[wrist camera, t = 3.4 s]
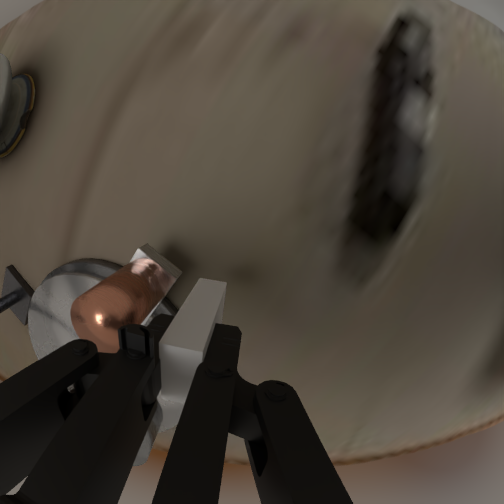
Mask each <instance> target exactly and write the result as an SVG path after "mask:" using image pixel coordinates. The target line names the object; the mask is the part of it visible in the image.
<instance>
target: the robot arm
mask: <svg viewBox="0 0 504 504" xmlns="http://www.w3.org/2000/svg"><path fill="white" fill-rule="evenodd" d="M226 286H227V282H221V281H215V280H209V279H203V278H199V280H198V281H197V283H196V284H195V286H194V288H193V289H192V291H191V292H190V294H189V295H188V297H187V298H186V300H185V302H184V303H183V305H182V306H181V308H180V309H179V311H178V313H177V314H176V316H172V315H167V314H163V313H161V314H159V315H157V316H155V317H154V318H153V319H152V320H151V322H150V323H149V324H148V326H147V327H146V326H144V325H140V324H127V325H124V326H121V327H120V328H119V329H118V339H119V348H120V349H119V350H118V351H117V353H104V352H98V349H97V346H96V344H95V343H93V342H92V341H90V340H87V339H75V340H72V341H70V342H68V343H66V344H65V345H63V346H61V347H60V348H58V349H56V350H55V351H53V352H51V353H50V354H48V355H46V356H45V357H43V358H41V359H40V360H38V361H36V362H35V363H33V364H31V365H30V366H28V367H26V368H25V369H23V370H21V371H20V372H18V373H16V374H15V375H13V376H12V377H10V378H8V379H7V380H5V381H3V382H2V383H0V504H118V501H119V498H120V496H121V493H122V491H123V488H124V486H125V483H126V481H127V478H128V476H129V473H130V471H131V468H132V466H133V464H134V461H135V459H136V456H137V454H138V452H139V449H140V447H141V444H142V442H143V440H144V437H145V435H146V432H147V430H148V428H149V425H150V423H151V421H152V418H153V416H154V414H155V411H156V409H157V405H158V401H157V396H158V394H159V392H160V390H161V398H162V399H166V400H170V401H174V402H179V403H183V404H184V407H183V410H182V413H181V416H180V419H179V422H178V425H177V427H176V430H175V433H174V436H173V439H172V442H171V445H170V449H169V452H168V455H167V458H166V461H165V464H164V467H163V470H162V473H161V476H160V479H159V482H158V485H157V489H156V491H155V495H154V498H153V501H152V504H218V499H219V492H220V486H221V478H222V472H223V465H224V458H225V451H226V444H227V437H228V432H229V433H231V434H234V435H236V436H239V437H241V438H244V441H245V445H246V449H247V453H248V457H249V461H250V465H251V469H252V472H253V476H254V480H255V483H256V487H257V490H258V494H259V497H260V501H261V504H353V502H352V500H351V498H350V496H349V495H348V493H347V491H346V489H345V487H344V485H343V483H342V481H341V479H340V478H339V476H338V474H337V472H336V470H335V468H334V466H333V464H332V462H331V460H330V458H329V456H328V454H327V452H326V450H325V449H324V447H323V445H322V443H321V441H320V439H319V437H318V435H317V433H316V431H315V429H314V427H313V425H312V423H311V421H310V419H309V417H308V415H307V413H306V411H305V409H304V407H303V405H302V403H301V401H300V399H299V397H298V395H297V393H296V391H295V390H294V389H293V387H291V386H290V385H288V384H287V383H284V382H281V381H275V380H269V381H264V382H262V383H261V384H259V385H258V386H257V385H254V384H251V383H249V382H247V381H245V380H244V379H243V378H242V377H241V376H240V375H239V373H238V371H237V364H238V357H239V350H240V343H241V335H242V333H241V331H240V329H239V328H238V327H237V326H231V325H224V324H222V318H223V310H224V302H225V294H226ZM72 384H73V387H74V389H72V390H70V391H68V387H69V386H71V385H72ZM27 476H28V477H27ZM25 477H27V478H26V480H25V482H24V483H23V485H22V486H21V488H20V490H19V491H18V492H17V493H16V494H14V495H6V493H8V492H9V491H10V490H11V489H13V488H14V487H15V486H16V485H17V484H18V483H20V482H21V481H22V480H23V479H24V478H25Z"/></svg>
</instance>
